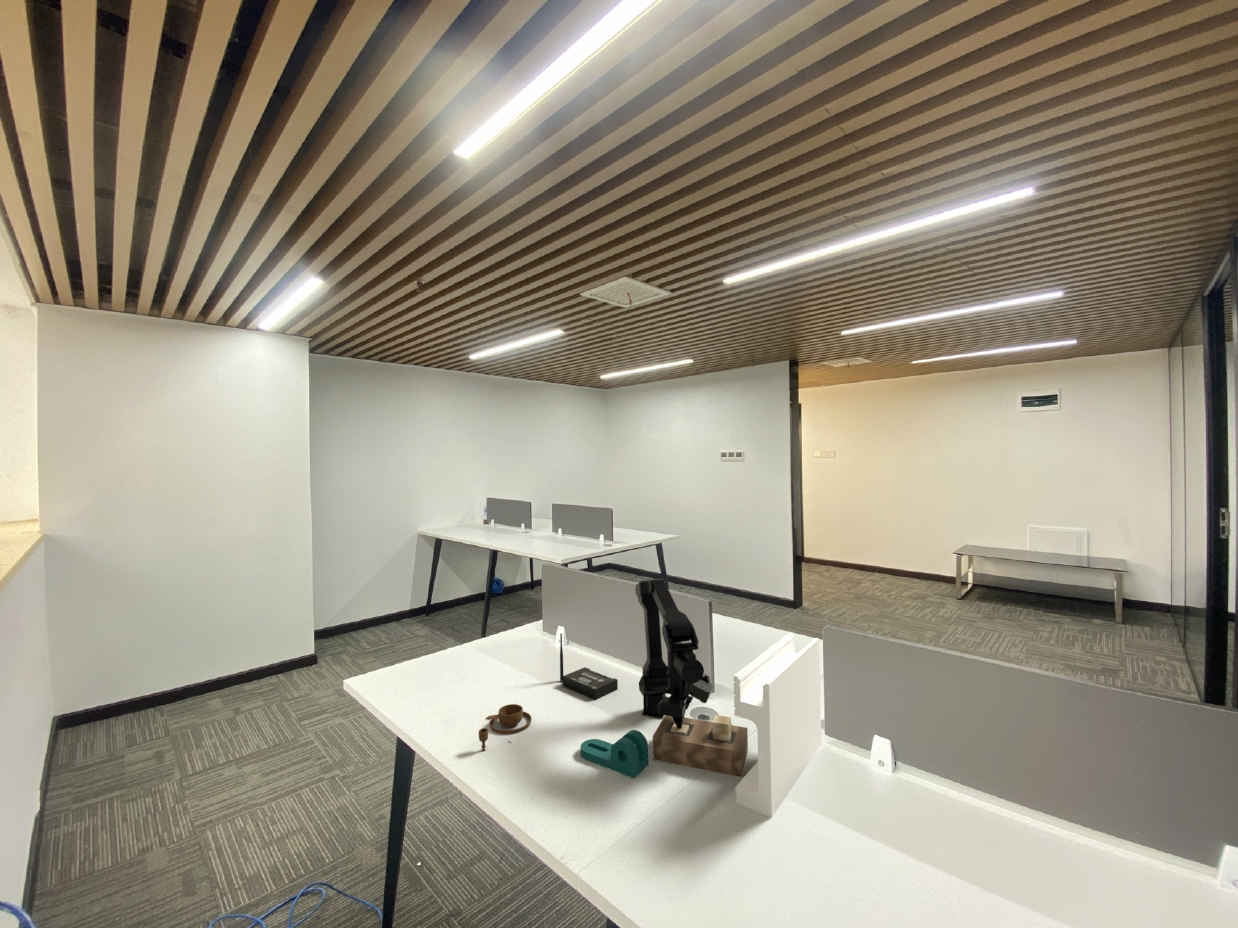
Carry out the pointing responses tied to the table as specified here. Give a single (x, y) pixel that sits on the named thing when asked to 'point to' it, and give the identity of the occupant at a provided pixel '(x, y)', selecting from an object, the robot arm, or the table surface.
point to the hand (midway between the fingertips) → (679, 727)
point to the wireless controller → (587, 681)
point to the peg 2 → (722, 728)
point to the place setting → (505, 721)
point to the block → (779, 720)
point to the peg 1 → (683, 730)
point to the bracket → (619, 753)
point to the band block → (701, 747)
